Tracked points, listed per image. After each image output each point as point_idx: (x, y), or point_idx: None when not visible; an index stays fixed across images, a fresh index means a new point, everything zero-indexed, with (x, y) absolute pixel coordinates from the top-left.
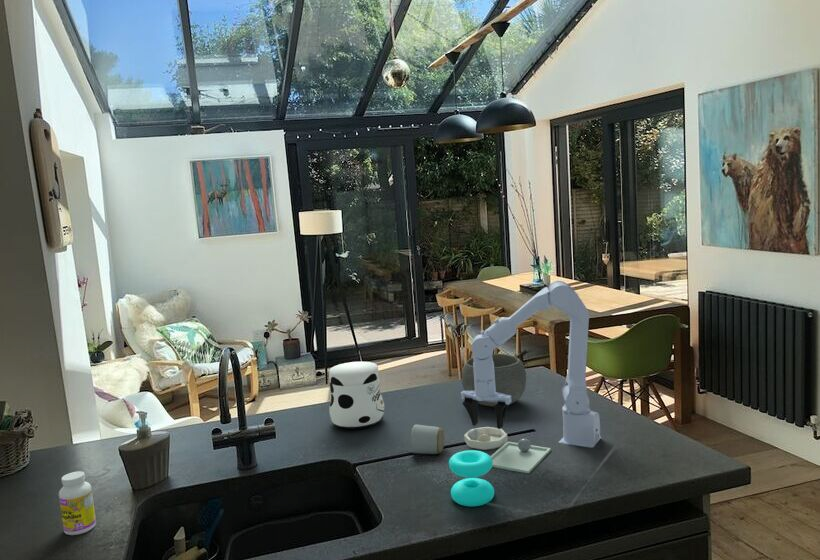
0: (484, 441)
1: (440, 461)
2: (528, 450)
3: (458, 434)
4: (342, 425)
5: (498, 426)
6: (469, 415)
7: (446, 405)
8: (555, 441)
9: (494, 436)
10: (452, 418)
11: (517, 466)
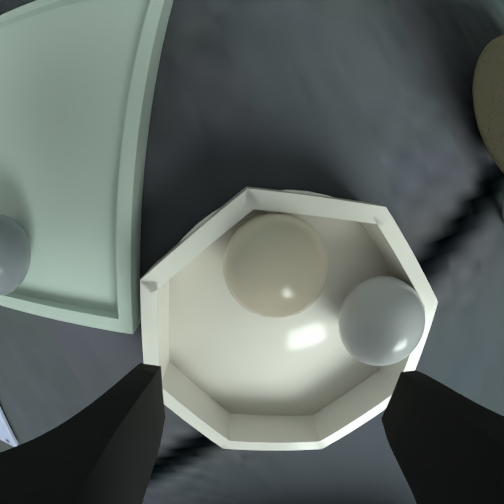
0: (255, 217)
1: (427, 17)
2: None
3: (447, 368)
4: None
5: (137, 373)
6: (486, 408)
7: None
8: (8, 393)
9: (258, 400)
10: None
11: (11, 51)
